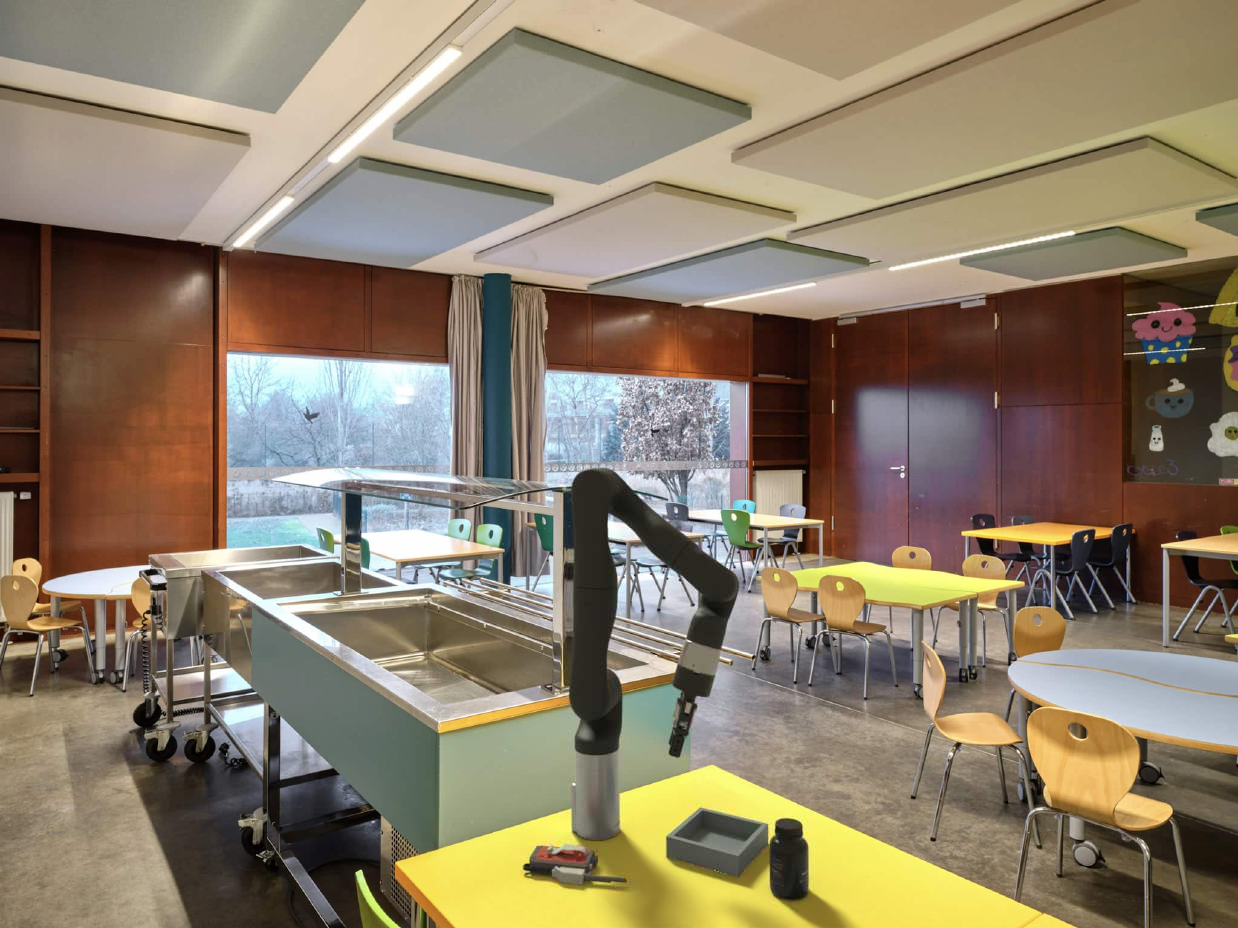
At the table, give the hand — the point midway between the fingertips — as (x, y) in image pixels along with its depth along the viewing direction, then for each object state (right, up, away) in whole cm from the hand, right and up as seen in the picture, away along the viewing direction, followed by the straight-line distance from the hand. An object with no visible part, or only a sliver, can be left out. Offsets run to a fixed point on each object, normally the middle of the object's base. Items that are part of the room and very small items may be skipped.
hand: (673, 751), depth 151 cm
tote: (+9, -21, +5) cm, 24 cm away
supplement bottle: (+20, -21, -10) cm, 31 cm away
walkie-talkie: (-18, -22, -3) cm, 29 cm away
